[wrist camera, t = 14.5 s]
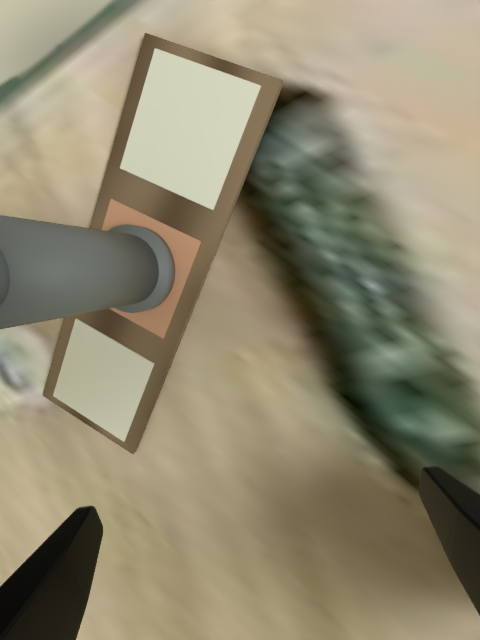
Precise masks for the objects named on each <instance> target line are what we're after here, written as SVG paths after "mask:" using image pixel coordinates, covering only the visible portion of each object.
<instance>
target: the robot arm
mask: <svg viewBox="0 0 480 640" xmlns="http://www.w3.org/2000/svg"><path fill="white" fill-rule="evenodd" d="M419 493H420V497H421V500H422V502H423V504H424V507H425V509H426V511H427V513H428V515H429V518H430V520H431V522H432V524H433V526H434V529H435V531H436V533H437V535H438V538H439V540H440V542H441V544H442V546H443V549H444V551H445V553H446V555H447V557H448V559H449V561H450V563H451V565H452V567H453V569H454V571H455V573H456V574H457V576H458V578H459V580H460V581H461V583H462V585H463V587H464V589H465V590H466V592H467V594H468V596H469V597H470V599H471V601H472V603H473V605H474V606H475V608H476V610H477V612H478V613H479V615H480V494H478V493H477V492H476V491H474V490H473V489H471V488H470V487H468V486H467V485H465V484H464V483H462V482H461V481H459V480H458V479H456V478H455V477H453V476H452V475H450V474H449V473H447V472H446V471H445V470H443V469H441V468H440V467H437V466H434V467H425V468H422V470H421V474H420V484H419ZM102 536H103V526H102V523H101V520H100V518H99V516H98V513H97V511H96V509H95V507H94V506H85V507H79V508H78V509H76V510H75V511H74V512H73V513H72V514H71V515H70V516H69V517H68V518H67V519H66V520H65V521H64V522H63V523H62V524H61V525H60V526H59V527H58V528H57V529H56V530H55V531H54V532H53V533H52V534H51V535H50V536H49V537H48V539H47V540H46V541H45V542H44V543H43V544H42V545H41V546H40V547H39V548H38V549H37V550H36V551H35V552H34V553H33V554H32V555H31V556H30V557H29V558H28V559H27V560H26V561H25V562H24V563H23V564H22V565H21V566H20V567H19V568H18V569H17V570H16V571H15V572H14V573H13V574H12V575H11V576H10V577H9V578H8V579H7V580H6V581H5V582H4V583H3V584H2V585H1V586H0V640H76V638H77V634H78V631H79V628H80V625H81V622H82V618H83V615H84V612H85V609H86V605H87V602H88V598H89V594H90V590H91V585H92V581H93V576H94V572H95V567H96V563H97V558H98V554H99V549H100V545H101V540H102Z"/></svg>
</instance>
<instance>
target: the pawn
mask: <svg viewBox="0 0 480 640" xmlns="http://www.w3.org/2000/svg"><path fill="white" fill-rule="evenodd" d="M174 279H175V263H174V258H173V255H172V252H171V250H170V248H169V246H168V245H167V243H166V242H165V241H164V239H163V238H162V237H161V236H160V235H158V234H157V233H156V232H154V231H153V230H151V229H148V228H146V227H141V226H136V225H129V224H125V225H119V226H116V227H114V228H111V229H110V230H108V231H103V230H97V229H90V228H83V227H76V226H69V225H63V224H56V223H49V222H42V221H35V220H29V219H22V218H15V217H8V216H1V215H0V329H4V328H9V327H15V326H20V325H25V324H30V323H36V322H41V321H46V320H51V319H57V318H62V317H67V316H72V315H78V314H83V313H88V312H93V311H99V310H104V309H109V308H116V309H118V310H120V311H123V312H127V313H138V312H143V311H147V310H150V309H153V308H155V307H157V306H159V305H160V304H161V303H162V302H163V301H164V300H165V299H166V298H167V297H168V295H169V294H170V292H171V290H172V287H173V284H174Z"/></svg>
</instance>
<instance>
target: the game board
mask: <svg viewBox="0 0 480 640" xmlns="http://www.w3.org/2000/svg"><path fill="white" fill-rule="evenodd" d="M282 86H283V81H282V80H280V79H277V78H274V77H271V76H268V75H266V74H263V73H260V72H257V71H254V70H251V69H248V68H245V67H242V66H240V65H237V64H234V63H231V62H228V61H225V60H222V59H219V58H216V57H213V56H211V55H208V54H205V53H202V52H199V51H196V50H193V49H190V48H187V47H185V46H182V45H179V44H176V43H173V42H170V41H167V40H164V39H161V38H158V37H156V36H153V35H150V34H147V33H145V35H144V39H143V42H142V46H141V49H140V53H139V56H138V60H137V63H136V67H135V70H134V74H133V78H132V81H131V85H130V88H129V92H128V95H127V99H126V102H125V106H124V109H123V113H122V116H121V120H120V124H119V127H118V131H117V134H116V138H115V141H114V145H113V148H112V152H111V155H110V159H109V163H108V166H107V170H106V173H105V177H104V180H103V184H102V187H101V191H100V194H99V198H98V201H97V205H96V209H95V212H94V216H93V219H92V223H91V226H90V229H97V230H103V231H108V230H110V229H111V228H114V227H116V226H119V225H125V224H129V225H136V226H141V227H146V228H148V229H151V230H153V231H154V232H156V233H157V234H158V235H160V236H161V237H162V238H163V239H164V241H165V242H166V243H167V245H168V246H169V248H170V250H171V252H172V255H173V258H174V263H175V279H174V284H173V287H172V290H171V292H170V294H169V295H168V297H167V298H166V299H165V300H164V301H163V302H162V303H161V304H160V305H159V306H157V307H155V308H153V309H150V310H147V311H143V312H138V313H127V312H123V311H120V310H118V309H116V308H109V309H104V310H99V311H93V312H88V313H83V314H78V315H72V316H67V317H65V318H64V322H63V325H62V329H61V332H60V336H59V339H58V343H57V347H56V350H55V354H54V357H53V361H52V364H51V368H50V371H49V375H48V378H47V382H46V385H45V389H44V393H43V396H44V397H46V398H47V399H49V400H51V401H52V402H54V403H55V404H57V405H58V406H60V407H61V408H63V409H64V410H66V411H67V412H69V413H70V414H72V415H74V416H75V417H77V418H78V419H80V420H81V421H83V422H84V423H86V424H87V425H89V426H90V427H92V428H93V429H95V430H96V431H98V432H100V433H101V434H103V435H104V436H106V437H107V438H109V439H110V440H112V441H113V442H115V443H116V444H118V445H119V446H121V447H123V448H124V449H126V450H127V451H129V452H130V453H132V454H134V453H135V452H136V450H137V448H138V445H139V443H140V440H141V438H142V435H143V433H144V430H145V428H146V425H147V423H148V420H149V418H150V415H151V413H152V410H153V408H154V405H155V403H156V400H157V398H158V395H159V393H160V390H161V388H162V385H163V383H164V380H165V378H166V375H167V373H168V370H169V368H170V365H171V363H172V361H173V358H174V356H175V353H176V351H177V348H178V346H179V343H180V341H181V338H182V336H183V333H184V331H185V328H186V326H187V323H188V321H189V318H190V316H191V313H192V311H193V308H194V306H195V303H196V301H197V298H198V296H199V293H200V291H201V288H202V286H203V283H204V281H205V278H206V276H207V273H208V271H209V268H210V266H211V263H212V261H213V258H214V256H215V253H216V251H217V248H218V246H219V243H220V241H221V238H222V236H223V233H224V231H225V228H226V226H227V223H228V221H229V218H230V216H231V213H232V211H233V208H234V206H235V203H236V201H237V198H238V196H239V193H240V191H241V189H242V186H243V184H244V181H245V179H246V176H247V174H248V171H249V169H250V166H251V164H252V161H253V159H254V156H255V154H256V151H257V149H258V146H259V144H260V141H261V139H262V136H263V134H264V131H265V129H266V126H267V124H268V121H269V119H270V116H271V114H272V111H273V109H274V106H275V104H276V101H277V99H278V96H279V94H280V91H281V89H282Z"/></svg>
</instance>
